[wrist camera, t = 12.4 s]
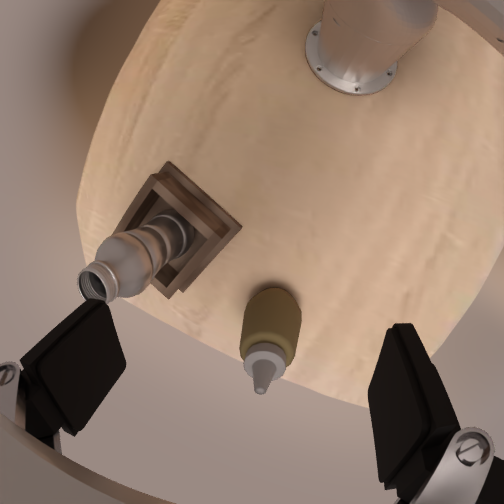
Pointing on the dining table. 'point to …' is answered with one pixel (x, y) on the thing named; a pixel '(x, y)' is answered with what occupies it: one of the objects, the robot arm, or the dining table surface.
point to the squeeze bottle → (269, 336)
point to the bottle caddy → (194, 211)
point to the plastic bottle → (135, 257)
